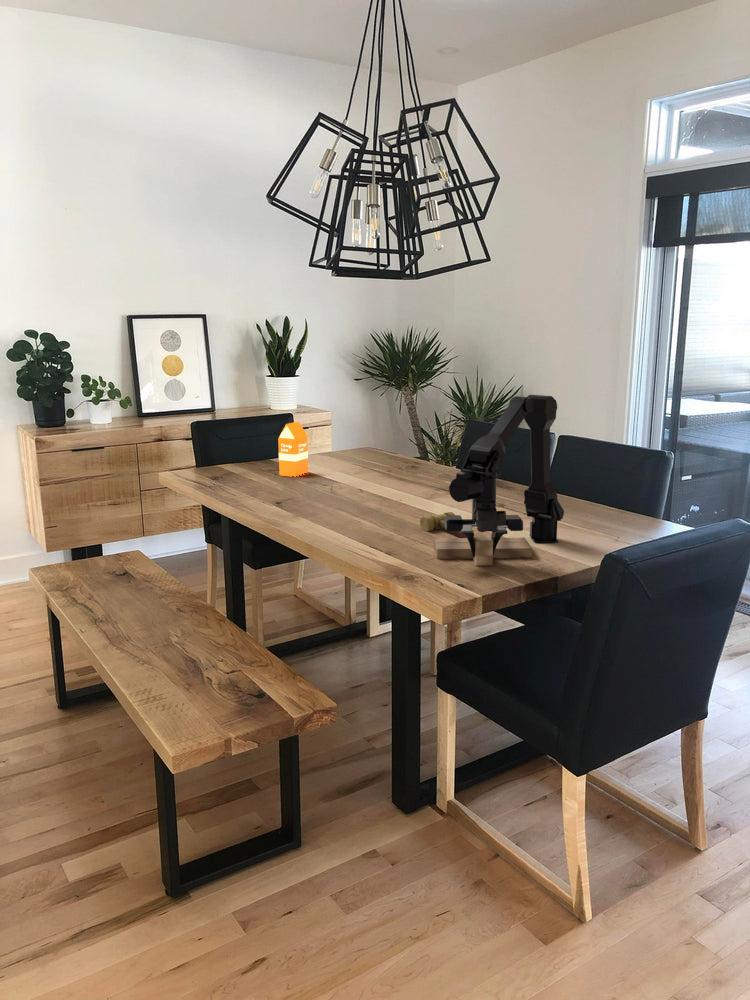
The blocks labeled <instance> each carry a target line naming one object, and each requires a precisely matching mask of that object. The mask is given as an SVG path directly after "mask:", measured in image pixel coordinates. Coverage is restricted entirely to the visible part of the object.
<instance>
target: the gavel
mask: <svg viewBox="0 0 750 1000" xmlns="http://www.w3.org/2000/svg"><path fill="white" fill-rule="evenodd" d="M447 515H456V514H455V513H454V512H453V511H447V512H444V513H442V514H436V515H422V516H420V520H419V526H420V529H421V530H422V531H423V530H424V531H423V532H426V531H427V532H432V531H433V530H439V529H444V531H446V528H445V517H446V516H447ZM447 533H450V534H452V535H454V536H456V537H457V538H467V536H466V535H465V534H461V531H447Z"/></svg>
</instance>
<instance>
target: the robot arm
mask: <svg viewBox="0 0 750 1000" xmlns="http://www.w3.org/2000/svg"><path fill="white" fill-rule="evenodd" d="M557 411H558V403H557V400H556V399H555V397H553V396H552V395H544V394H528V395H527V396H519V395H516V396H513V397H510V399H509V404H508V406H507V408H506V409H505V410H504V411H503V413H502V414H501V416H499V419H498V420H497V421H496V422H495V424H494V425H493V427H492V428H491V430H490V431H489V432H488V433H487V434H486V435H484V436H481V437H479V438H478V439H477V440H476V441H475V442H474V443H473V444H472V445H471V447H470V449H469V450H468V453H467V455H466V457H465V460H464V461H463V464H462V467H461V469H460V472H456V473H455V474H456V475H455V478H453V480H451V482H450V484H449V487H448V493H449V495H450V497H451V498H452V500H454V501H455V502H457V503H462V502H466V501H470V500H471V502H472V503H471V518H462V515H461V514H458V515H457V514H455V515H447V516H446V517H445V528H446V530H445V531H446V532H448V531H461V534H465V535H466V536H467V539H468V542H469V545H470V548H471V551H472V555H473V557H475V545H474V535H475V532H474V530H473V528H475V527H476V529H477V530H476V531H478V532H480V533H485V532H486V533H487V532H491V535H490V537H491V539H492V541H493V554H494V552H495V549H496V546H497V544H498V542H499V540H500V538H503V536H504V535H507V534H508V533H509V532H508V530H509V531H510V532H522V531H524V521H523V519H522V518H521V517H520V515H518V514H507V512H506V510H497V507H496V506H497V503H496V502H497V477H499V476H501V475H502V471H500V470H499V466H500V465H501V463H502V461H503V460H504V458H505V455H506V445H507V443H508V442H509V440H510V439H511V438H512V436H513V435H514V434H515V433H516V430H517V429H518V428H519V426H520V425H521V423H522V421H525V423H526V425H527V426H528V428H529V430H530V431H529V432H530V466H531V467H530V470H531V471H530V472H531V482H530V484H529V486H528V488H526V489H524V492H523V495H524V501H523V505H524V507H525V513H526V517H528V518H532V519H531V521H530V522H529V537H530V538H531V539H532V541H533V543H559V540H558V538H557V537H558V522H560V521H562V520H563V519H564V515H565V510H564V508H563V507H562V504H560V502H559V499H558V492H557V490H556V487H555V486H554V484H553V483H552V480H551V431H550V430H551V428H552V426H553V424H554V422H555V420H556V419H557ZM507 529H508V530H507Z"/></svg>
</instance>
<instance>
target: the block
mask: <svg viewBox="0 0 750 1000" xmlns="http://www.w3.org/2000/svg"><path fill="white" fill-rule="evenodd" d="M474 545H475V557H473V558H472V560H473V562H474V564H475V566H493V563H494V562H493V560H494V558H493V541H492V539H491V535H489V534H487V535H486V534H484V535H479V534H478V535H475V534H474Z"/></svg>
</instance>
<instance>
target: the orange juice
mask: <svg viewBox="0 0 750 1000" xmlns="http://www.w3.org/2000/svg"><path fill="white" fill-rule="evenodd" d="M278 463H279V464H278V466H279V467H278V468H279V469H278V470H279V476H283V477H284V476H285V477H292V476H294V478H295V477H296V476H297V477H300V476H303V475H305V474H304V473H307V472H308V473H309V449H308V435H307V433H306V431H305V430H304V428H303V426H302V425H301V423H300V421H293V422H290V423H286V424H285V426H284V427H283V429H282V431H281V433H280V435H279V437H278ZM308 473H307V474H308ZM302 474H303V475H302ZM299 475H300V476H299Z"/></svg>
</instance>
